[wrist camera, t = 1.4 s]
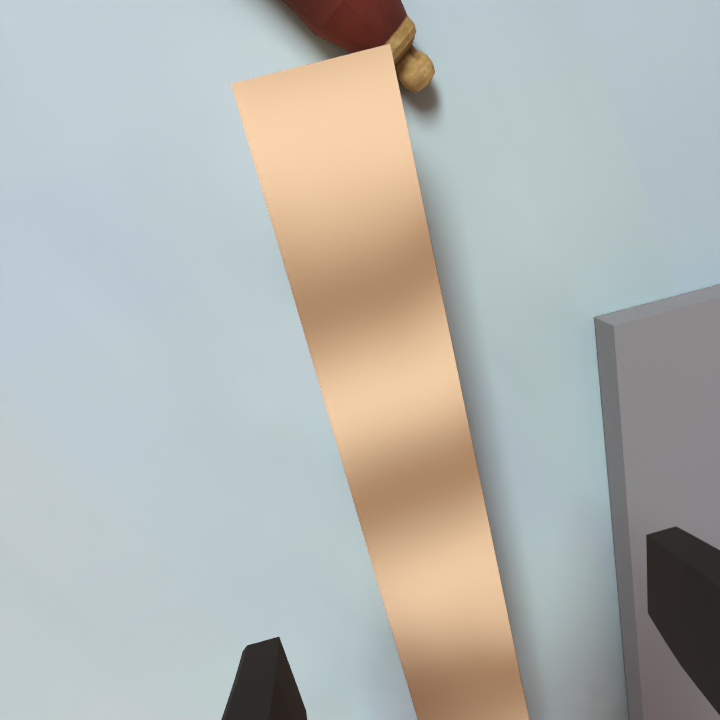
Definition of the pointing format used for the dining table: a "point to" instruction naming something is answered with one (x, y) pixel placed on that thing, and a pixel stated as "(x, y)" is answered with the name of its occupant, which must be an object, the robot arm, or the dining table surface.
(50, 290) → the dining table surface
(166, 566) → the dining table surface
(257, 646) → the robot arm
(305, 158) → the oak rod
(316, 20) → the gavel
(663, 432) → the fulcrum stand
